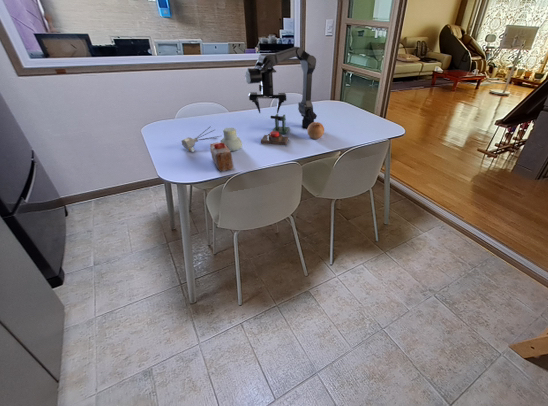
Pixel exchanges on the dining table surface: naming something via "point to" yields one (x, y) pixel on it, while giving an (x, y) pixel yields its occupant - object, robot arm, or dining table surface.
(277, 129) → the switch bracket
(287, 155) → the dining table surface
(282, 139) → the button box
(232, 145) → the air freshener
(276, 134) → the push button
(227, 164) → the food item
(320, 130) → the onion
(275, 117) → the switch lever
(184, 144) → the reed diffuser
